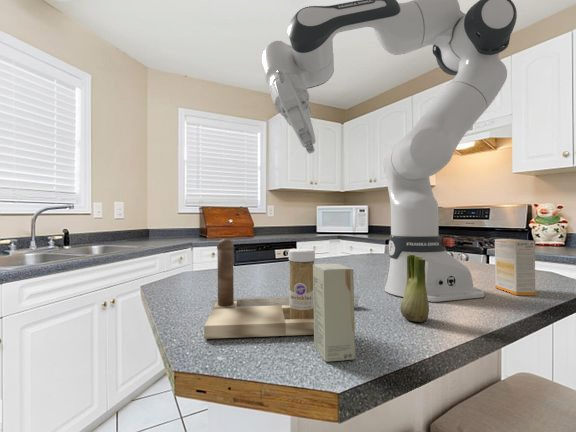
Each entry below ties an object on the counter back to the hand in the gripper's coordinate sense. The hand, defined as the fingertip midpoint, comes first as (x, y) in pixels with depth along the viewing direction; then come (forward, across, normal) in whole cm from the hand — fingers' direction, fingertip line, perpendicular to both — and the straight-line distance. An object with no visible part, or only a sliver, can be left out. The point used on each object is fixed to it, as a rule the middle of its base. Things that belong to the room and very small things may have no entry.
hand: (306, 141), depth 72 cm
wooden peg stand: (+36, -5, +17) cm, 40 cm away
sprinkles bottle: (+38, -4, +12) cm, 40 cm away
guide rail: (+34, +4, +16) cm, 37 cm away
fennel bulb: (+43, +4, -7) cm, 44 cm away
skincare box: (+44, -13, +6) cm, 46 cm away
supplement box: (+43, +33, -34) cm, 64 cm away
